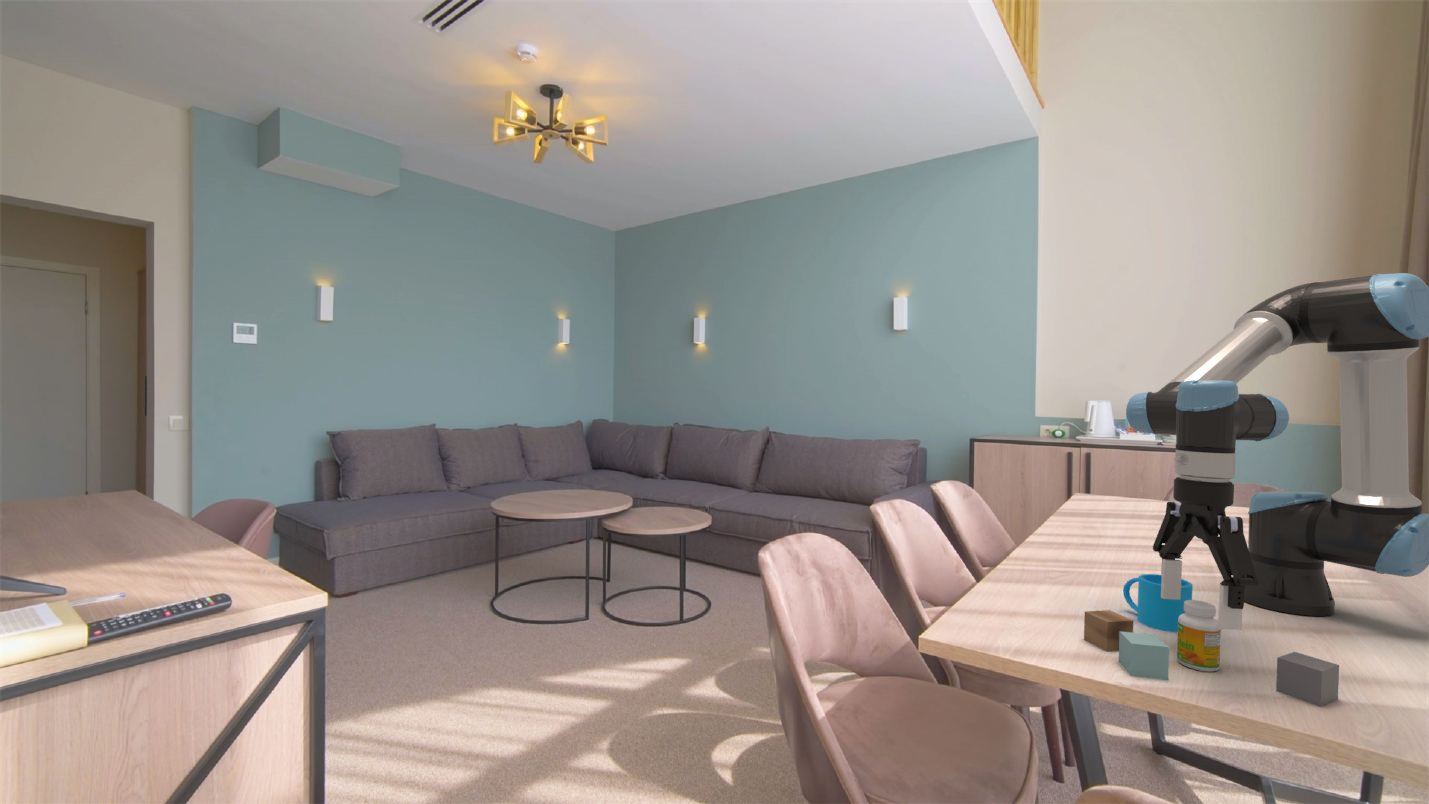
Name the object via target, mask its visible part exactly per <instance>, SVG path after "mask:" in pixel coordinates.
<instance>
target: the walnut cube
mask: <svg viewBox="0 0 1429 804" xmlns="http://www.w3.org/2000/svg"><path fill="white" fill-rule="evenodd" d="M1083 623H1084V625H1083V626H1084V627H1083V641H1085V642H1087V643H1090V644H1092V646H1095V647H1097V648H1099V649H1101V650H1103V651H1104V652H1117V651H1118V652H1119V631H1121V632H1131V633H1134V620H1133V619H1131V618H1130V617H1129V618H1128V617H1126V616H1125V615H1122V614H1119V613H1117V612H1115V611H1114V610H1110V609H1107V610H1090V611H1089V610H1088V611H1087V610H1086V611H1084V621H1083Z"/></svg>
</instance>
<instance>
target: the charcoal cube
mask: <svg viewBox="0 0 1429 804" xmlns="http://www.w3.org/2000/svg"><path fill="white" fill-rule="evenodd" d="M1339 677H1340V665H1339V664H1337V663H1334V662H1330V661H1327V660H1323V659H1320V658H1317V657H1314V656H1310V655H1307V654H1304V653H1300V652H1298V651H1292V652H1289V653H1286V654H1284V655H1280V656H1278V657H1277V658H1276V689H1275V692H1278V693H1280V694H1284V695H1287V696H1289V697H1291V698H1295V699H1297V700H1301V701H1303V702H1305V703H1309V704H1312V705H1315V706H1318V707H1321V708H1322V707H1324V706H1326V705H1328V704H1331V703H1333V702H1335V701H1337V700H1339V684H1340V683H1339V680H1340V678H1339Z"/></svg>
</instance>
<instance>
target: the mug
mask: <svg viewBox="0 0 1429 804" xmlns="http://www.w3.org/2000/svg"><path fill="white" fill-rule="evenodd" d="M1161 581H1162V574H1156V573H1155V574H1153V573H1149V574H1148V573H1146V574H1145V573H1144V574H1141V575H1138V577H1133V578H1131V579H1128V580H1127V581H1126V583H1124V585H1123V589H1122V592H1123V596H1124V597H1123V598H1124V599H1125V601H1126V603H1127V604H1128V606H1129V607H1130V608H1131V609H1132V610H1134V611H1135V612H1136V613H1137V616H1136V617H1137V621H1138V623H1140V624H1141V625H1144V626H1146V627H1148V628H1152V629H1154V630H1155V629H1156V630H1159V631H1164V632H1170V633H1178V618H1179V616H1180V615H1181V614H1184V613H1186V612H1185V611H1184V601H1186V600H1193V584H1192V583H1191V581H1188V580H1185V579H1183V578H1181V600H1177V599H1163V598H1161ZM1135 583H1138V586H1137V587H1138V588H1137V590H1138V591H1137V604H1136V603H1135V602H1134V601H1133V599H1132V597H1131V592H1130V590H1131V587H1132V585H1133V584H1135Z"/></svg>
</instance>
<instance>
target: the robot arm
mask: <svg viewBox="0 0 1429 804" xmlns="http://www.w3.org/2000/svg"><path fill="white" fill-rule="evenodd" d="M1428 337H1429V286H1428V285H1427V284H1426V282H1425V281H1424V280H1423V279H1422V278H1420V277H1419V276H1417V275H1415V274H1412V273H1407V272H1406V273H1405V272H1399V273H1395V272H1394V273H1377V274H1374V275H1365V276H1357V277H1350V278H1343V279H1335V280H1326V281H1319V282H1317V281H1316V282H1308V283H1303V284H1300V285H1297V286H1293V287H1290V288H1287V289H1285V290H1282V291H1281V292H1278V293H1276V294H1274V295H1273V296H1272V295H1271V296H1270V297H1269V298H1266V299H1265V300H1263V301H1261V302H1260V303H1258V304H1256V305H1255V306H1254V307H1252V308H1250V309H1249V310H1248V311H1246V312H1245V313H1244V314H1242V315H1241V316H1240V317H1239V318H1238V319H1237V320H1236V321H1235V323H1234V326H1233V330H1232V331H1230V332H1228V333H1227V334H1226V335H1225V336H1224V337H1223V338H1222V339H1221V340H1219V341H1218V342H1216V344H1214V345H1213V346H1212V347H1211V348H1209V349H1208V350H1207V351H1205V353H1203V354H1202V355H1200V357H1198V358H1197V359H1196V360H1194V361H1193V362H1192V363H1191V364H1189V366H1187V367H1186V368H1185V369H1184V370H1182V371H1181V372H1180V373H1178V375H1176V376H1175V377H1174V378H1172V380H1170V381H1169V382H1167V383H1166V384H1165V385H1164V386H1163V387H1161V388H1160V389H1159V390H1158V391H1156V392H1152V391H1146V392H1139V393H1136V394H1134V395H1132V396H1131V398H1129V400H1128V402H1127V404H1126V408H1125V415H1126V416H1125V417H1126V419H1127V422H1128V424H1129V426H1130V427H1131V429H1132V430H1135V431H1137V432H1139V433H1145V434H1146V433H1147V434H1153V435H1166V436H1169V435H1170V436H1175V437H1176V438H1175V448H1174V449H1175V457H1174V458H1173V459H1174V473H1175V474H1176V475H1178V476H1177V477H1175V478H1174V479H1173V491H1172V492H1173V493H1172V494H1173V495H1172V497H1173V499H1174V500H1175V501H1167V502H1166V508H1165V514H1164V517H1163V519H1162V522H1161V525H1160V527H1159V530H1158V532H1157V535H1156V538H1155V540H1154V543H1153V544H1152V550H1153V552H1155V553H1158V555H1159V558H1161V575H1162V581H1161V598H1163V599H1177V600H1181V579H1182V573H1183V571H1182V570H1183V561H1182V559H1183V557H1182V553H1183V552H1184V551H1185V549H1186V548H1187V547H1188V546H1189V544H1190V543H1191V541H1192V540H1193V539H1194V537H1196V538H1197V539H1199V540H1201V541H1202V543H1203V544H1205V545H1206V546H1208V549H1209V551H1210V553H1211V555H1212V558H1213V559H1214V562H1215V564H1216V566H1217V568H1218V570H1219V573H1220V576H1221V578H1222V579H1223V580H1222V581H1221V582H1219V594H1218V595H1219V598H1218V599H1219V600H1218V620H1217V621H1218V627H1219V628H1221V630H1230V631H1231V630H1235V631H1236V630H1237V631H1242V623H1243V622H1242V621H1243V620H1242V618H1243V609H1244V607H1245V606H1244V605H1245V603H1247V604H1250V605H1252V606H1255V607H1259V608H1264V609H1268V610H1272V611H1276V612H1280V613H1286V614H1287V613H1288V614H1292V615H1299V616H1300V615H1302V616H1312V617H1313V616H1314V617H1325V616H1332V615H1334V614H1335V613H1336V612H1335V611H1336V601H1335V598H1334V596H1333V593H1332V591H1331V588H1330V585H1329V582H1328V580H1327V578H1326V577H1327V576H1326V574H1325V572H1324V571H1325V562H1326V563H1332V564H1337V565H1341V566H1346V567H1351V568H1356V569H1362V570H1366V571H1370V572H1375V573H1377V574H1379V575H1384V574H1385V575H1391V576H1397V577H1398V576H1399V577H1403V578H1409V577H1414V576H1418V575H1420V574H1421V573H1422V572H1424V571H1425V570H1426V569H1427V568H1428V567H1429V513H1424V512H1423V505H1422V504H1423V503H1422V501H1421V500H1420V499H1419V498H1418V497H1416V496H1415V495H1414V494H1412V493H1411V492H1410V485H1409V484H1410V478H1409V477H1410V476H1409V475H1410V473H1409V467H1410V466H1409V422H1408V421H1409V420H1408V418H1409V416H1408V412H1409V411H1408V367H1407V366H1408V362H1407V361H1408V358H1409V357H1410V356H1411V355H1413V354H1414V353H1415V352H1417V351H1418V350H1419V349H1420V340H1421V339H1425V338H1428ZM1324 343H1325V344H1327V345H1326V346H1327V349H1326V350H1327V353H1326V354H1328V355H1330V356H1331V357H1332V358H1334V359H1335V360H1336V361H1337V362H1338V375H1339V377H1338V378H1339V385H1338V386H1339V415H1340V419H1339V420H1340V423H1339V424H1340V427H1339V428H1340V457H1341V458H1340V463H1341V487H1340V489H1339V490H1337V491H1335V492H1334V493H1332V494H1331V496H1330V501H1328V500H1329V497H1328V496H1327V494H1326V493H1325V492H1319V491H1301V490H1300V491H1297V490H1295V491H1291V490H1290V491H1288V490H1286V491H1283V490H1282V491H1261V492H1256V493H1254V494H1253V495H1252V496H1251V497H1250V502H1249V509H1248V512H1247V513H1248V514H1247V515H1248V542H1247V540H1246V537H1245V534H1244V519H1243V518H1242V517H1241V516H1227V515H1226V508H1228V507H1230V506H1232V505H1233V504H1234V498H1235V497H1234V496H1235V484H1233V482H1232V481H1230V480H1232V479H1234V478H1236V442H1237V441H1254V442H1261V441H1263V440H1264V441H1265V440H1271V439H1274V438H1276V437H1279V436H1280V435H1282V433H1283V432H1285V430H1286V429H1287V427H1288V425H1289V422H1290V414H1289V410H1288V408H1287V406H1286V405H1285V404H1284V403H1283V402H1282V401H1281V400H1279V399H1278V398H1277V397H1274V396H1271V395H1266V394H1262V393H1239V387H1238V383H1239V382H1240V381H1242V380H1243V379H1244V378H1245V377H1246V376H1248V375H1249V374H1250V373H1251V372H1252V371H1254V369H1256V368H1257V367H1258V366H1260V365H1261V364H1262V363H1263V362H1264V361H1265V360H1267V358H1269V357H1270V356H1274V355H1278V354H1281V353H1283V352H1285V351H1286V350H1287V349H1288V348H1289V347H1293V346H1298V345H1303V344H1304V345H1305V344H1324Z"/></svg>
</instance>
